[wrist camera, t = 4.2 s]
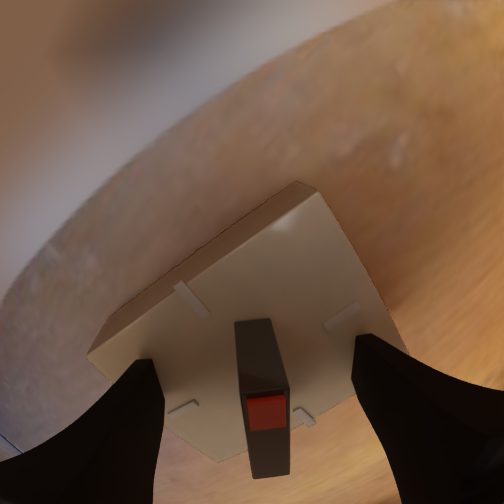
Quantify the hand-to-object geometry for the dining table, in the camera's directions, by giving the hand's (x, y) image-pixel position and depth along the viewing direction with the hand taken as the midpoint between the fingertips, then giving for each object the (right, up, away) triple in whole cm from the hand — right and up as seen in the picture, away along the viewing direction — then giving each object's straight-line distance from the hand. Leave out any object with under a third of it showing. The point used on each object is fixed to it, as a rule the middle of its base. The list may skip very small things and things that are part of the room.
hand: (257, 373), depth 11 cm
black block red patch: (0, 0, 0) cm, 0 cm away
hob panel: (0, +1, +3) cm, 3 cm away
